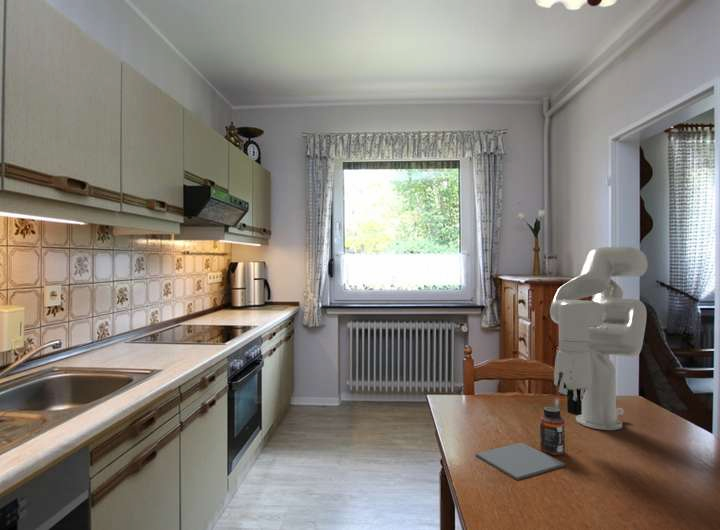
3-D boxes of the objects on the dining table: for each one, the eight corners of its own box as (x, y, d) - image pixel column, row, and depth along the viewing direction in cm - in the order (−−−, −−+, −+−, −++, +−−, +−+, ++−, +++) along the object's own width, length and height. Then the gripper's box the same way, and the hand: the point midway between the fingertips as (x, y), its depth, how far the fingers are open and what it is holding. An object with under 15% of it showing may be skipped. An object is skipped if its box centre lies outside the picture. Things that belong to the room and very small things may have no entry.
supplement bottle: (567, 457, 107) (567, 413, 107) (543, 455, 108) (542, 412, 108) (561, 447, 112) (560, 406, 113) (538, 446, 114) (537, 404, 114)
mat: (521, 444, 115) (521, 442, 115) (565, 465, 102) (565, 463, 102) (475, 455, 108) (475, 453, 108) (516, 480, 95) (516, 477, 95)
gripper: (579, 343, 121) (580, 406, 120) (543, 346, 115) (543, 413, 114) (604, 347, 114) (605, 414, 113) (567, 350, 108) (567, 421, 107)
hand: (574, 413), depth 114 cm, fingers closed
